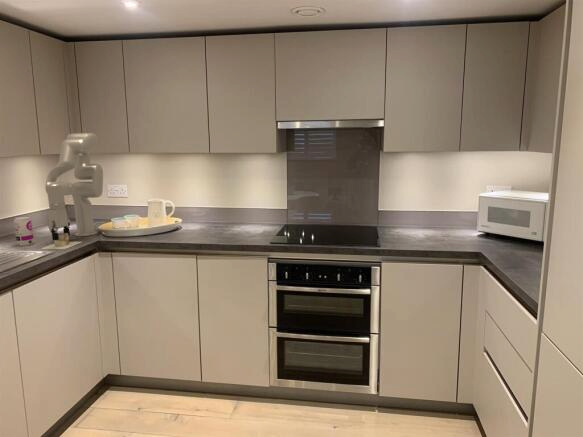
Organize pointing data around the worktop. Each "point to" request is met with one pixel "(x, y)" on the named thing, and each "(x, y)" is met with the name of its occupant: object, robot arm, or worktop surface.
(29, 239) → the supplement can
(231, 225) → the worktop surface
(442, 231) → the worktop surface
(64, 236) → the birch block
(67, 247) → the sage mat
